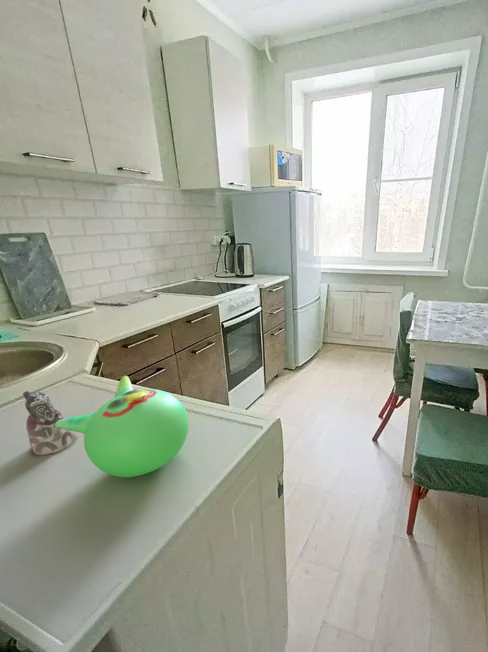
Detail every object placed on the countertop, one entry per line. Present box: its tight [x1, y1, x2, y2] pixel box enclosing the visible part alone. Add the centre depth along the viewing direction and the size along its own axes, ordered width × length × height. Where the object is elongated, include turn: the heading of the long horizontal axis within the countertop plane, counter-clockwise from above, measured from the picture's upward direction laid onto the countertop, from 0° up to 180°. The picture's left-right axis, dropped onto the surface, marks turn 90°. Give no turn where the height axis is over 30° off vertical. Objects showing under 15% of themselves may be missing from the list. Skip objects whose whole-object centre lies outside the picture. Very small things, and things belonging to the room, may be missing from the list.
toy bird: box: [55, 375, 190, 478], centre depth 63 cm, size 18×17×15 cm
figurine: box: [22, 390, 74, 456], centre depth 70 cm, size 7×7×12 cm
